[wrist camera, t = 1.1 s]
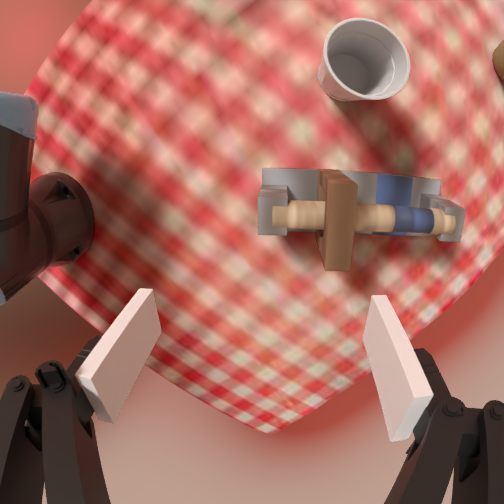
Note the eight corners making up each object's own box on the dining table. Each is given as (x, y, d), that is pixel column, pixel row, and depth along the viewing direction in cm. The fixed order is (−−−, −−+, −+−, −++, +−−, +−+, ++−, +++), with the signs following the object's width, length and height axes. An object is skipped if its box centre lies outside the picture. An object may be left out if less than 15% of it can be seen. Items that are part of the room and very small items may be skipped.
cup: (385, 93, 32) (425, 81, 21) (332, 118, 34) (354, 114, 23) (352, 39, 29) (379, 7, 18) (298, 64, 31) (305, 36, 20)
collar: (315, 235, 38) (324, 270, 29) (318, 168, 35) (331, 183, 26) (334, 236, 38) (349, 271, 29) (338, 169, 35) (358, 184, 26)
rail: (262, 228, 40) (257, 254, 32) (262, 167, 37) (257, 178, 29) (430, 234, 38) (458, 259, 30) (438, 179, 35) (470, 193, 27)
